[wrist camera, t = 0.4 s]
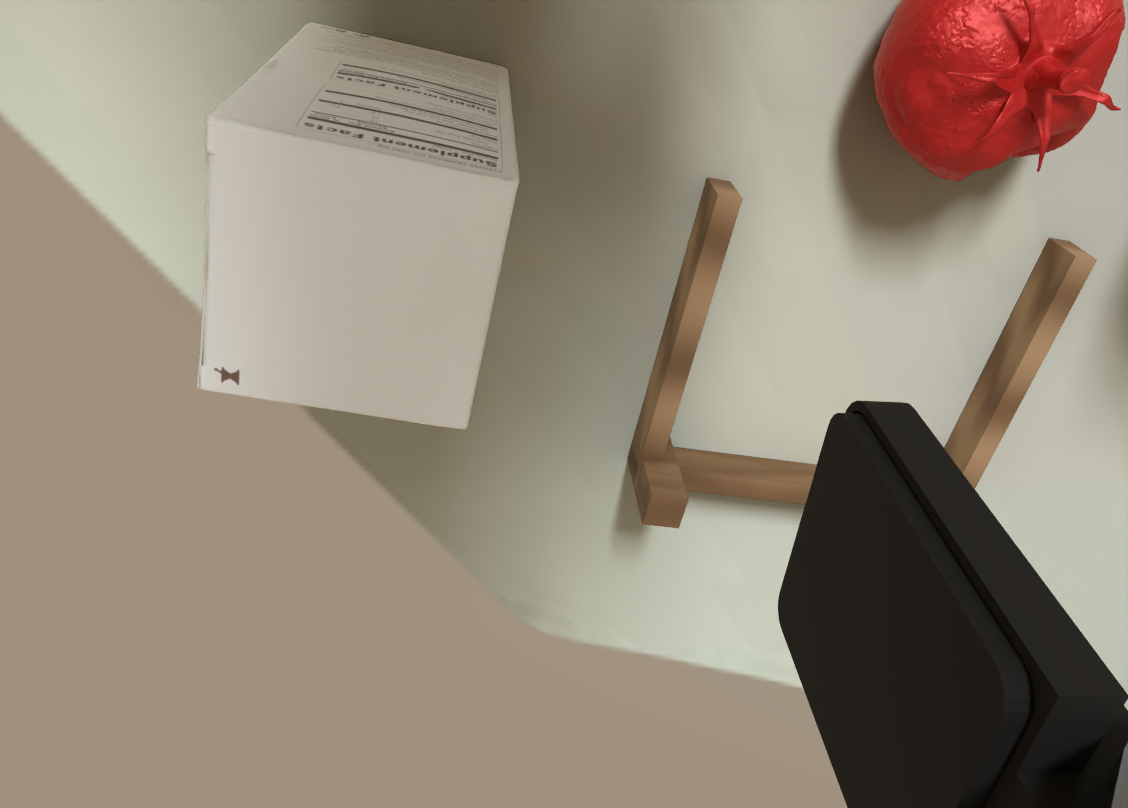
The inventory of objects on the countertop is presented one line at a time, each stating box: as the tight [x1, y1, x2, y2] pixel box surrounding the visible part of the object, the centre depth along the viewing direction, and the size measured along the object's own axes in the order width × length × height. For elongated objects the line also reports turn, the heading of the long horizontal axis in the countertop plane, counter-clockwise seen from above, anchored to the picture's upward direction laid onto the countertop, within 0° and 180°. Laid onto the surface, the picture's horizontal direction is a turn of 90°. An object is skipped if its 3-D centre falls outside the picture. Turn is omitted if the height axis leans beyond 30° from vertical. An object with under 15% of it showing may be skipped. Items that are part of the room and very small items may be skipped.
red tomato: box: [873, 0, 1125, 181], centre depth 38 cm, size 10×10×9 cm
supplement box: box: [197, 22, 520, 430], centre depth 35 cm, size 10×9×17 cm
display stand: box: [628, 178, 1097, 528], centre depth 48 cm, size 17×20×6 cm
